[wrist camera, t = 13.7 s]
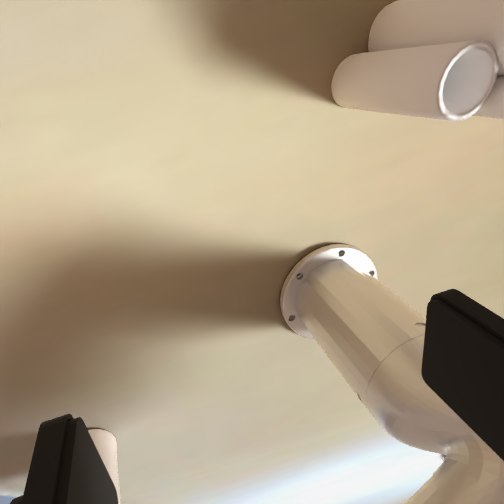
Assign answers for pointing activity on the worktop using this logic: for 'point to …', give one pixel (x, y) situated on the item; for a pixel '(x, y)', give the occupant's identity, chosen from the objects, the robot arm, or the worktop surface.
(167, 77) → the worktop surface
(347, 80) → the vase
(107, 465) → the drinking glass
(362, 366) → the robot arm
